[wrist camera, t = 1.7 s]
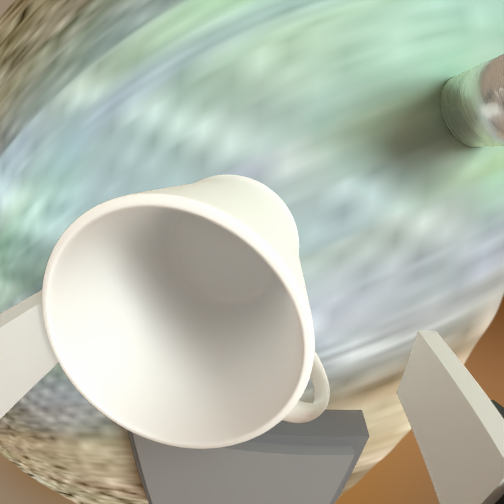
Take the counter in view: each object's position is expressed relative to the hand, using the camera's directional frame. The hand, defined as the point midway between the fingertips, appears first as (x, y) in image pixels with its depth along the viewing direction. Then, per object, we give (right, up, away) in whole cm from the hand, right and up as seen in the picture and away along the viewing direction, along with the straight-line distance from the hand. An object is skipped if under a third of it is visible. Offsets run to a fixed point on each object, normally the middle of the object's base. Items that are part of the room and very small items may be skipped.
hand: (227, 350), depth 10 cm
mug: (0, +3, +9) cm, 10 cm away
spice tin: (+15, +13, +5) cm, 21 cm away
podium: (0, -17, +14) cm, 22 cm away
